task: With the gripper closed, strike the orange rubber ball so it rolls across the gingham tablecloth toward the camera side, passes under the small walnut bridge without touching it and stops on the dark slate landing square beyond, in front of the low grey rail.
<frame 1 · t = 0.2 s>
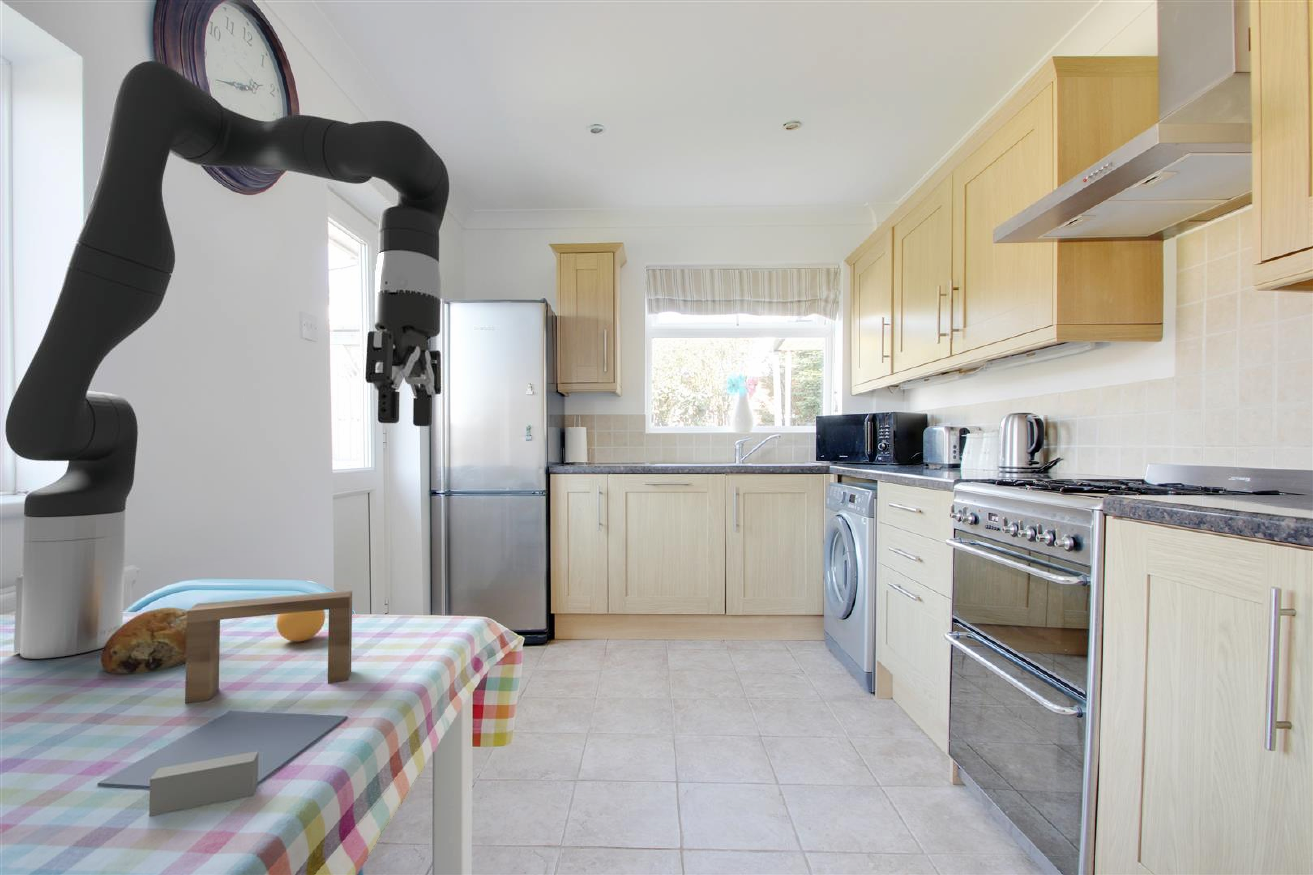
hand: (406, 424, 71), 29 cm above the table, tool pointing down, fingers open, 8 cm apart
bridge: (273, 685, 61), on the table
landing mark: (236, 747, 48), on the table
ball: (301, 619, 76), on the table
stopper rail: (205, 799, 41), on the table
bread roll: (157, 662, 69), on the table
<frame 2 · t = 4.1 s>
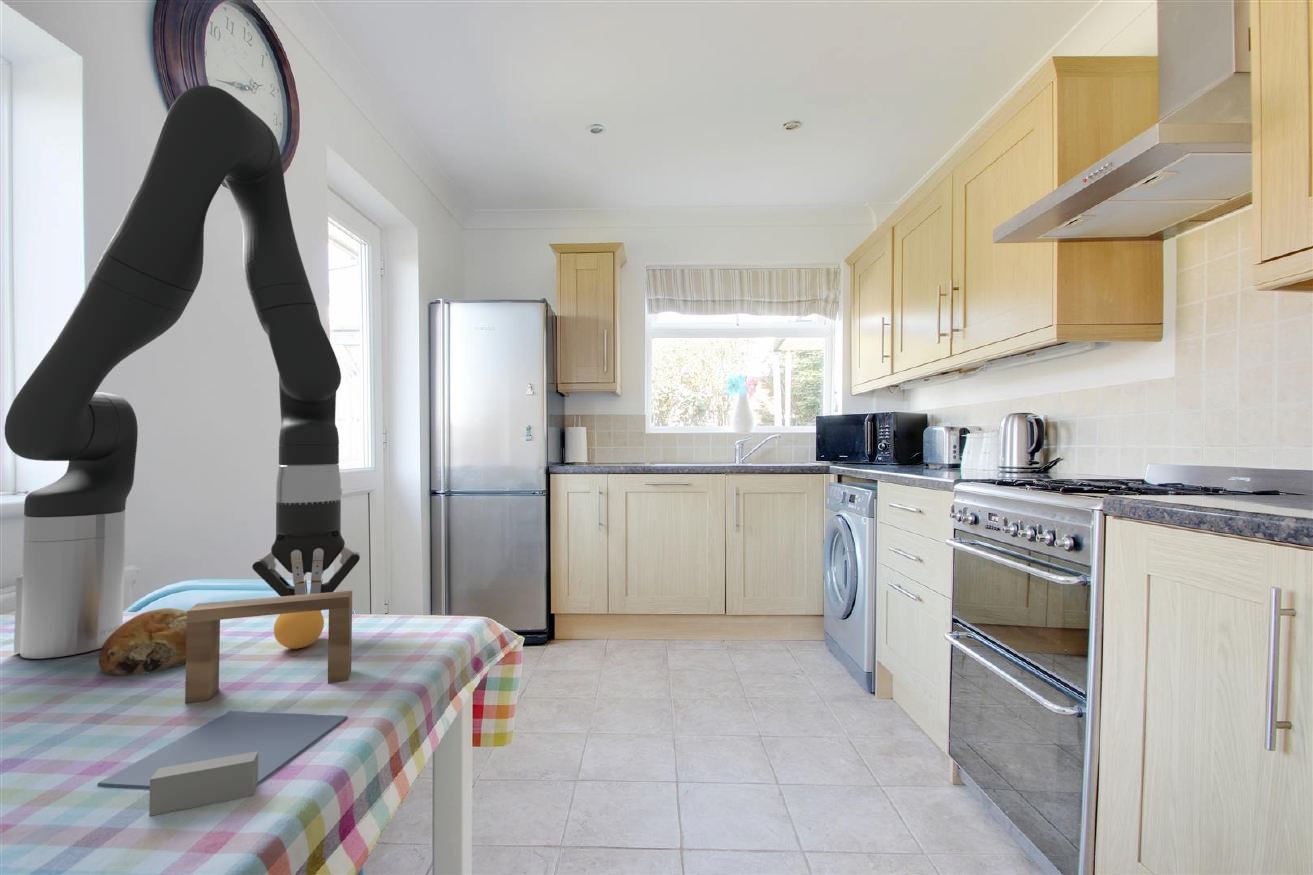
hand: (308, 625, 77), 2 cm above the table, tool pointing down, fingers closed
ball: (299, 625, 73), on the table
everything else where it was.
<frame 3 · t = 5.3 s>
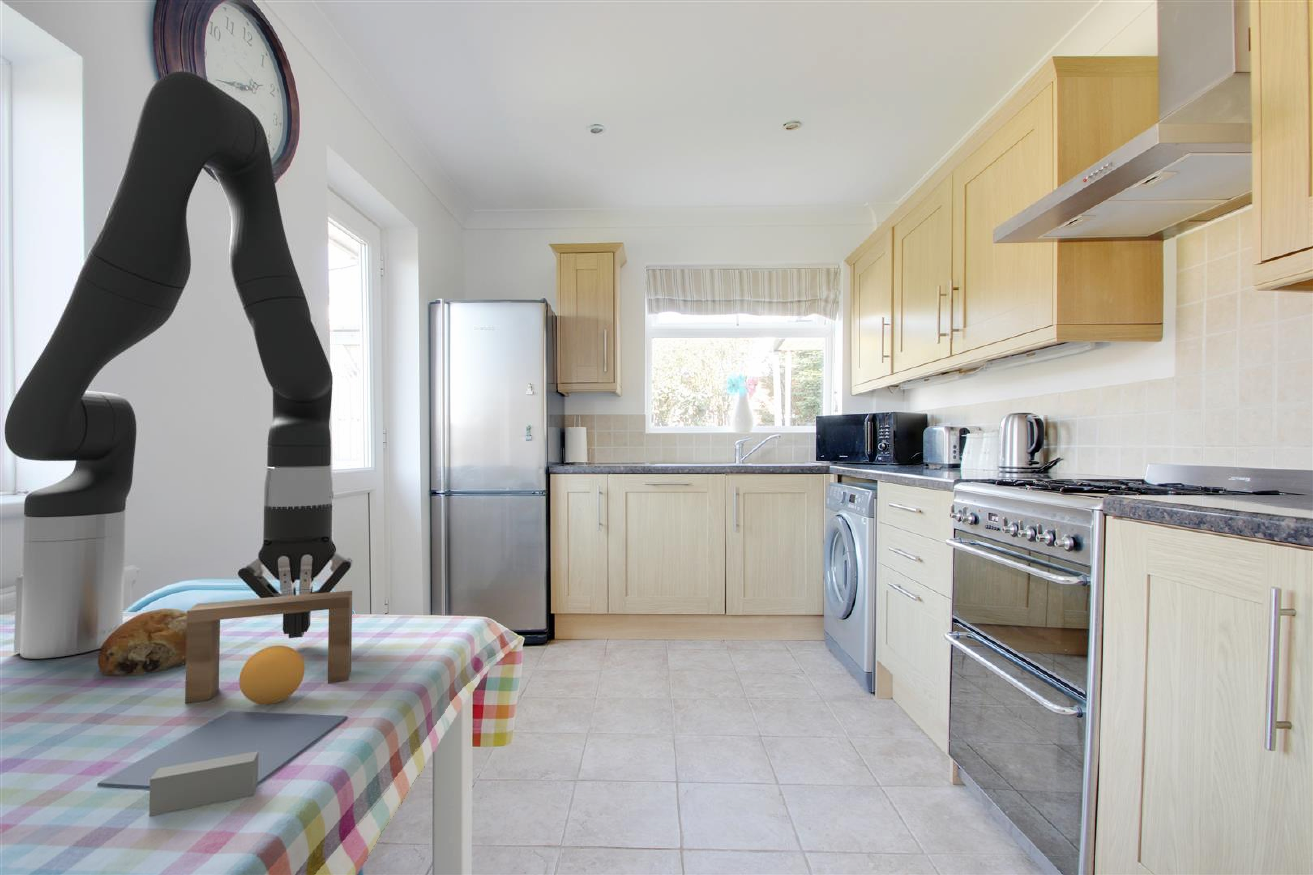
hand: (296, 635, 73), 1 cm above the table, tool pointing down, fingers closed
ball: (273, 674, 57), on the table
everything else where it was.
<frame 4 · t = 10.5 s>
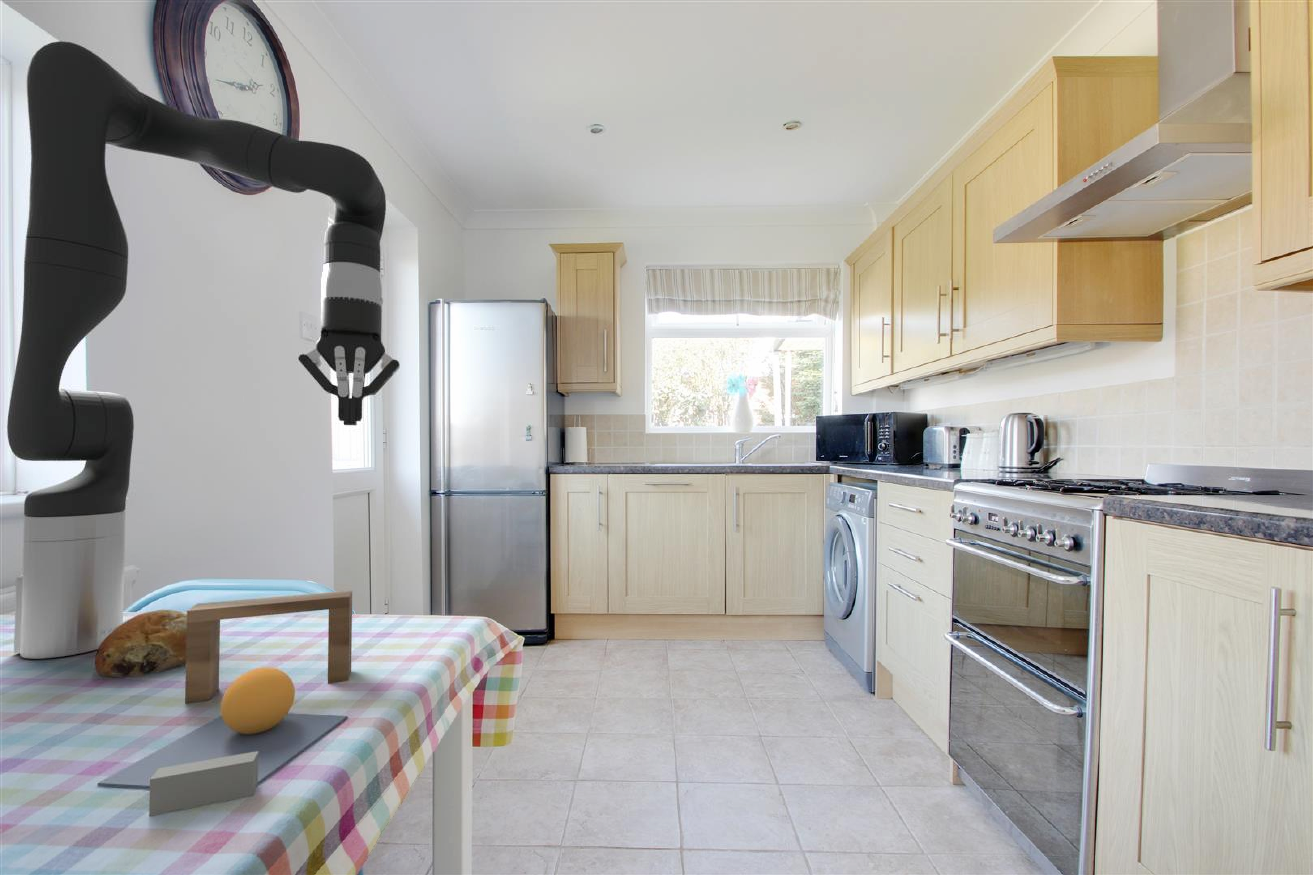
hand: (350, 424, 79), 29 cm above the table, tool pointing down, fingers closed
ball: (258, 699, 52), on the table
everything else where it was.
at the end: ball 3.0 cm from the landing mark (horizontally); ball never touched bridge; ball at rest at the end (0.0 cm/s) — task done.
